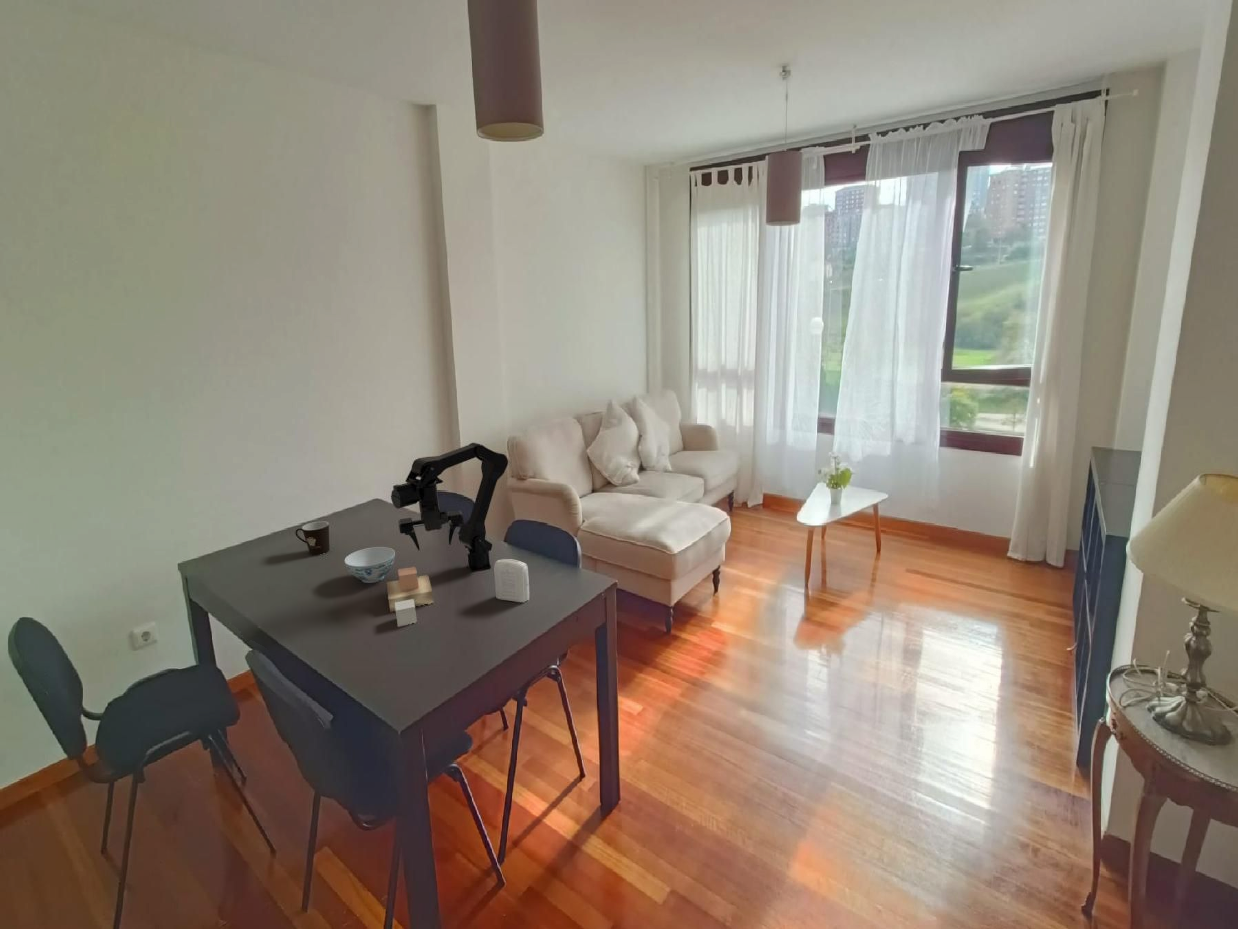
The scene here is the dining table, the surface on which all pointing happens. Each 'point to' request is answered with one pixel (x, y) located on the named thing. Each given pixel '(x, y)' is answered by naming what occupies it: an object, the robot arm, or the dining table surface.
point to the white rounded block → (511, 580)
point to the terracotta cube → (408, 578)
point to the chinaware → (370, 563)
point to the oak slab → (410, 593)
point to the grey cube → (405, 612)
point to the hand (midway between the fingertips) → (434, 547)
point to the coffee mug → (316, 537)
